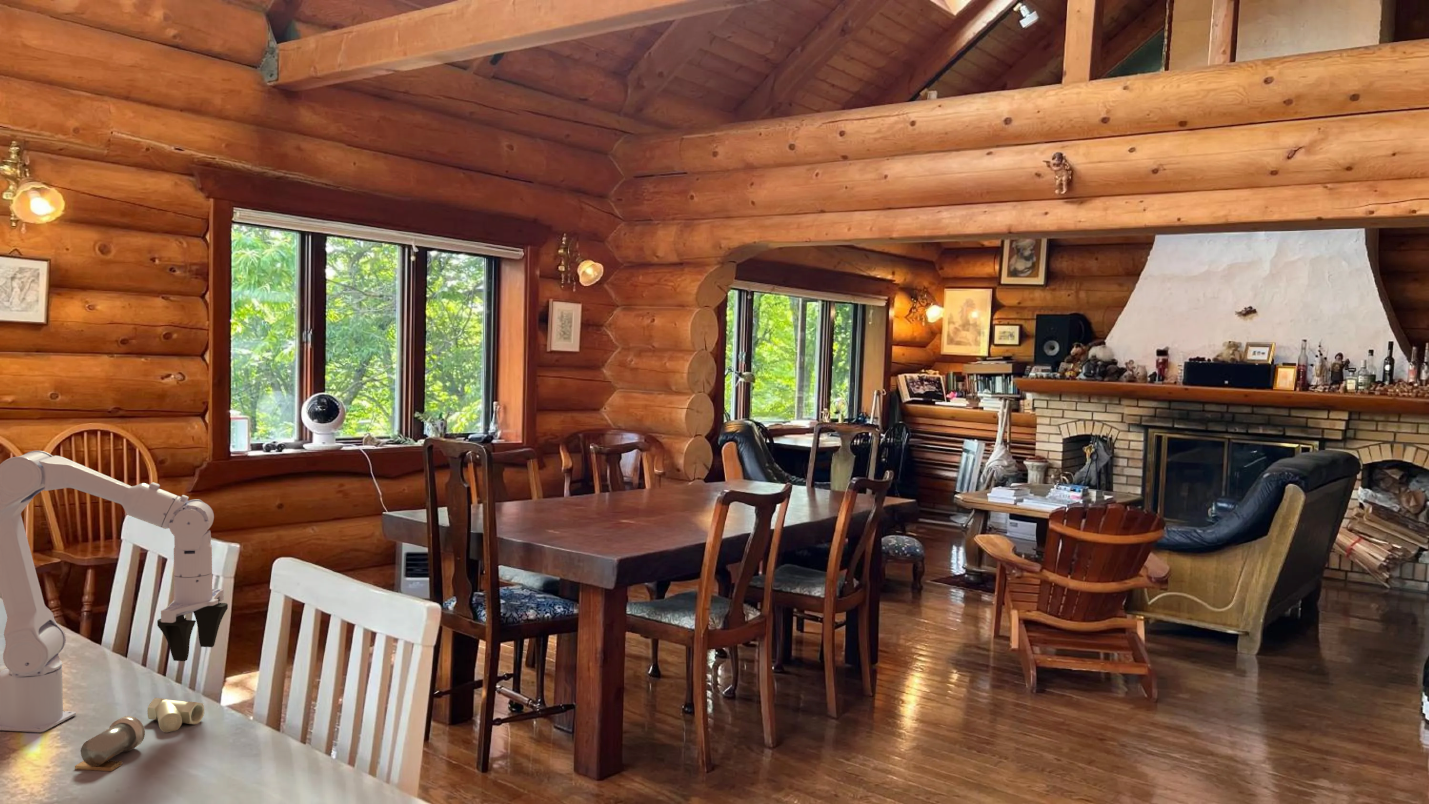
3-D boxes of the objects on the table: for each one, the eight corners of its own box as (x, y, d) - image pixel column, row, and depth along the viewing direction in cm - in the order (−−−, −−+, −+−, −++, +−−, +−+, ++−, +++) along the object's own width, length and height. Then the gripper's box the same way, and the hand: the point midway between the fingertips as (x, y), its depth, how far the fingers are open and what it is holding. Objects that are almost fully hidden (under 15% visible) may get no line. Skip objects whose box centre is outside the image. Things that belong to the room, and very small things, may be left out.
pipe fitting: (175, 738, 163) (205, 720, 169) (173, 715, 162) (203, 697, 169) (132, 733, 165) (163, 715, 171) (130, 710, 164) (161, 693, 171)
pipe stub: (111, 771, 149) (110, 737, 149) (74, 769, 149) (74, 735, 149) (147, 748, 157) (146, 716, 157) (112, 746, 158) (111, 715, 157)
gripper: (189, 585, 164) (190, 668, 165) (239, 565, 179) (240, 641, 179) (148, 583, 165) (149, 665, 166) (201, 563, 179) (202, 639, 180)
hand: (194, 653), depth 173 cm, fingers open, 7 cm apart
